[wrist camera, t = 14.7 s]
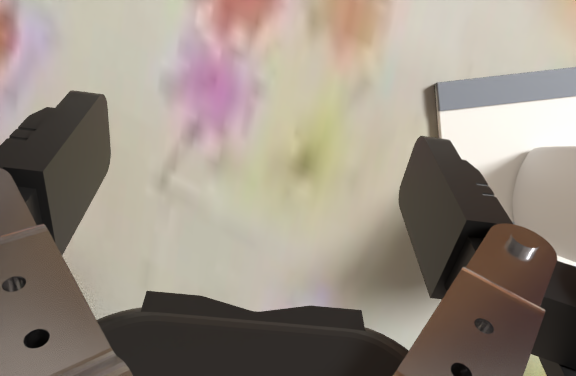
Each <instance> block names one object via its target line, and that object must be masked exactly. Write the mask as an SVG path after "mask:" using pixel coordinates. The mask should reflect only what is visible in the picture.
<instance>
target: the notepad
mask: <svg viewBox="0 0 576 376" xmlns="http://www.w3.org/2000/svg"><path fill="white" fill-rule="evenodd" d="M435 96H436V108H437V120H438V132H439V138H441V139H448V140H450V141H451V142H452V144H453V146H454V147H455V149H456V151H457V152H458V154H459V156H460V157H461V159H462V160H467V161H468V162H469V163H470V164H471V165H473V166H474V167H475V168H476V169H478V170H479V171H480V172H481V174H482V175H483V177H484V178H485V180H486V182H487V183H488V186H489V187H490V188H491V189H492V191H493V193H494V197H497V199H498V201H499V202H500V204H501V205H502V207H503V208H504V210H505V212H506V213H507V215H508V216H509V218H510V219H511V221H512V223H513V224H514V218H513V209H512V200H513V190H514V185H515V181H516V178H517V175H518V172H519V170H520V167H521V165H522V163H523V161H524V159H525V158H526V156H527V155H528V153H529V152H530V151H532V150H533V149H534V148H538V147H556V146H576V67H572V68H563V69H554V70H545V71H536V72H528V73H519V74H510V75H501V76H492V77H483V78H474V79H465V80H456V81H447V82H438V83H436V84H435ZM514 225H515V224H514ZM557 261H560V262H563V263H566V264H569V265H572V266H575V267H576V262H573V261H571V260H568V259H565V258H563V257H560V256H557Z"/></svg>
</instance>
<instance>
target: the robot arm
mask: <svg viewBox="0 0 576 376" xmlns="http://www.w3.org/2000/svg"><path fill="white" fill-rule="evenodd" d="M110 155H111V149H110V135H109V122H108V109H107V101H106V98H105V96H104V95H103V94H96V93H88V92H80V91H70V92H69V93H68V94H67V95H66V96H65V98H64V99H63V100H62V101H61V102H60V103H59V104H58V105H57V107H56V108H50V107H47V108H44V109H42V110H40V111H38V112H36V113H34V114H32V115H30V116H28V117H27V118H26V119H25V120H24V122H23V123H22V124H21V125H20V126H19V127H18V129H16V130H15V131H14V132H13V133H12V134H11V135H10V138H9V139H8V138H7V139H6V140H5V141H4V142H3V143H2V144H1V145H0V376H523V374H524V371H525V369H526V366H527V363H528V360H529V357H530V354H533V355H535V356H538V357H539V359H540V361H541V364H542V366H543V368H544V370H545V372H546V375H547V376H576V267H575V266H572V265H569V264H566V263H563V262H560V261H557V254H556V252H555V250H554V248H553V247H552V246H551V244H550V243H549V242H548V241H546V240H545V239H544V238H543V237H541V236H540V235H538V234H537V233H535V232H533V231H531V230H529V229H527V228H524V227H522V226H518V225H514V224H513V223H512V221H511V219H510V218H509V216H508V215H507V213H506V212H505V210H504V208H503V207H502V205H501V204H500V202H499V201H498V199H497V197H494V193H493V191H492V189H491V188H490V187H489V186H488V183H487V182H486V180H485V178H484V177H483V175H482V174H481V172H480V171H479V170H478V169H476V168H475V167H474V166H473V165H471V164H470V163H469V162H468V161H467V160H462V159H461V157H460V156H459V154H458V152H457V151H456V149H455V147H454V146H453V144H452V142H451V141H450V140H448V139H441V138H433V137H425V136H420V137H419V138H418V139H417V141H416V143H415V145H414V148H413V151H412V154H411V157H410V160H409V162H408V165H407V168H406V171H405V174H404V177H403V180H402V183H401V186H400V190H399V207H400V210H401V213H402V216H403V219H404V222H405V225H406V228H407V231H408V234H409V237H410V240H411V243H412V245H413V248H414V251H415V254H416V257H417V260H418V263H419V266H420V269H421V272H422V275H423V278H424V281H425V284H426V287H427V290H428V293H429V295H430V298H437V299H442V300H441V302H440V303H439V305H438V307H437V308H436V310H435V311H434V313H433V314H432V316H431V317H430V319H429V321H428V322H427V324H426V325H425V327H424V328H423V330H422V331H421V333H420V335H419V336H418V338H417V339H416V341H415V342H414V344H413V345H412V347H411V349H410V350H409V351H408V350H407V349H406V348H405V347H403V346H402V345H400V344H399V343H397V342H396V341H394V340H392V339H390V338H389V337H387V336H385V335H383V334H381V333H378V332H376V331H374V330H371V329H368V328H365V327H364V322H363V317H362V311H361V310H352V309H341V308H330V307H319V306H304V307H296V308H288V309H280V310H271V311H263V312H254V311H250V310H246V309H243V308H240V307H236V306H233V305H230V304H226V303H223V302H220V301H217V300H213V299H210V298H207V297H203V296H197V295H186V294H175V293H164V292H153V291H147V292H146V295H145V299H144V302H143V305H142V308H135V309H130V310H126V311H121V312H118V313H115V314H111V315H108V316H105V317H103V318H101V319H98V320H96V318H95V316H94V315H93V313H92V311H91V309H90V307H89V305H88V303H87V302H86V300H85V298H84V296H83V294H82V292H81V290H80V288H79V287H78V285H77V283H76V281H75V279H74V277H73V275H72V273H71V272H70V270H69V268H68V266H67V264H66V262H65V260H64V259H63V257H62V255H63V253H64V251H65V249H66V247H67V245H68V244H69V242H70V240H71V238H72V236H73V234H74V233H75V231H76V229H77V227H78V225H79V223H80V222H81V220H82V218H83V216H84V214H85V212H86V211H87V209H88V207H89V205H90V203H91V201H92V199H93V198H94V196H95V194H96V192H97V190H98V188H99V187H100V185H101V183H102V181H103V179H104V177H105V176H106V174H107V171H108V168H109V164H110Z"/></svg>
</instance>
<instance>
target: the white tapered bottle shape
mask: <svg viewBox="0 0 576 376" xmlns="http://www.w3.org/2000/svg"><path fill="white" fill-rule="evenodd" d="M512 209H513V218H514V224H515V225H518V226H522V227H524V228H527V229H529V230H531V231H533V232H535V233H537V234H538V235H540V236H541V237H543V238H544V239H545V240H546V241H548V242H549V243H550V244H551V246H552V247H553V248H554V250H555V252H556V254H557V256H560V257H563V258H565V259H568V260H571V261H573V262H576V146H556V147H538V148H534V149H533V150H532V151H530V152H529V153H528V155H527V156H526V158H525V159H524V161H523V163H522V165H521V167H520V170H519V172H518V175H517V178H516V181H515V185H514V190H513V200H512Z"/></svg>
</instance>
